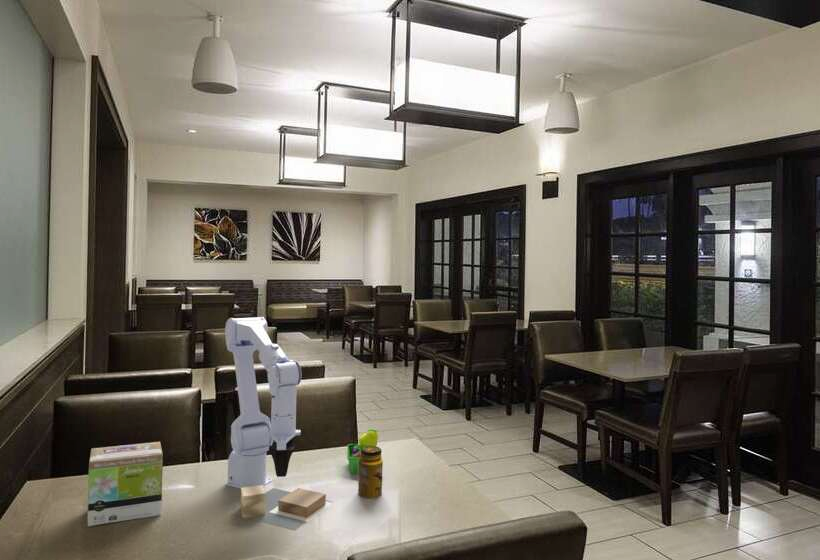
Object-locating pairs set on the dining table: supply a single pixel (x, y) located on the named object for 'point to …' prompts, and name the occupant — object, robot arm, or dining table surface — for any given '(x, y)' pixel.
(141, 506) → the tea box
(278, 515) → the mat
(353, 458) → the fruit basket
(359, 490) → the condiment
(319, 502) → the walnut base
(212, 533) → the dining table surface
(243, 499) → the maple cube
